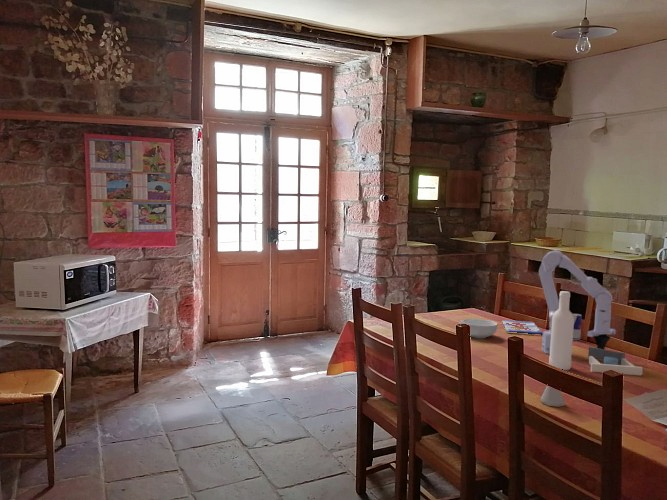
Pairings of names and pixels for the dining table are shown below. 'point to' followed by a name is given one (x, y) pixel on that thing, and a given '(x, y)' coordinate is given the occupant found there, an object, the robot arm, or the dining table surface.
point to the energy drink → (577, 326)
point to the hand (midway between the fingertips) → (600, 352)
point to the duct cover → (605, 354)
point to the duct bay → (615, 367)
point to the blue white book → (528, 324)
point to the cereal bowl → (480, 327)
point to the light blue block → (610, 360)
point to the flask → (552, 397)
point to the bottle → (562, 334)
